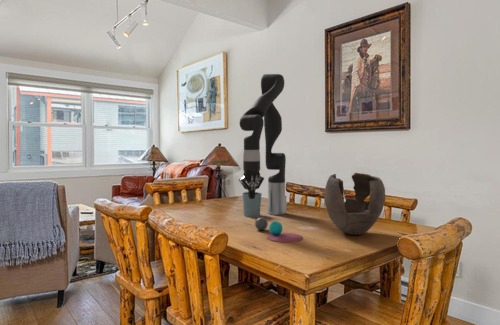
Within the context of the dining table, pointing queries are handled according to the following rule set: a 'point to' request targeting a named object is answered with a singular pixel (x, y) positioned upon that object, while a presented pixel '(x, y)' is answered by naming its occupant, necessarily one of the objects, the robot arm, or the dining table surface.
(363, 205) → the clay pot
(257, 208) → the drinking glass
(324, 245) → the dining table surface
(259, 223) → the gray ball
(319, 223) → the dining table surface
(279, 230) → the teal ball
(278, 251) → the dining table surface
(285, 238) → the plum mark
